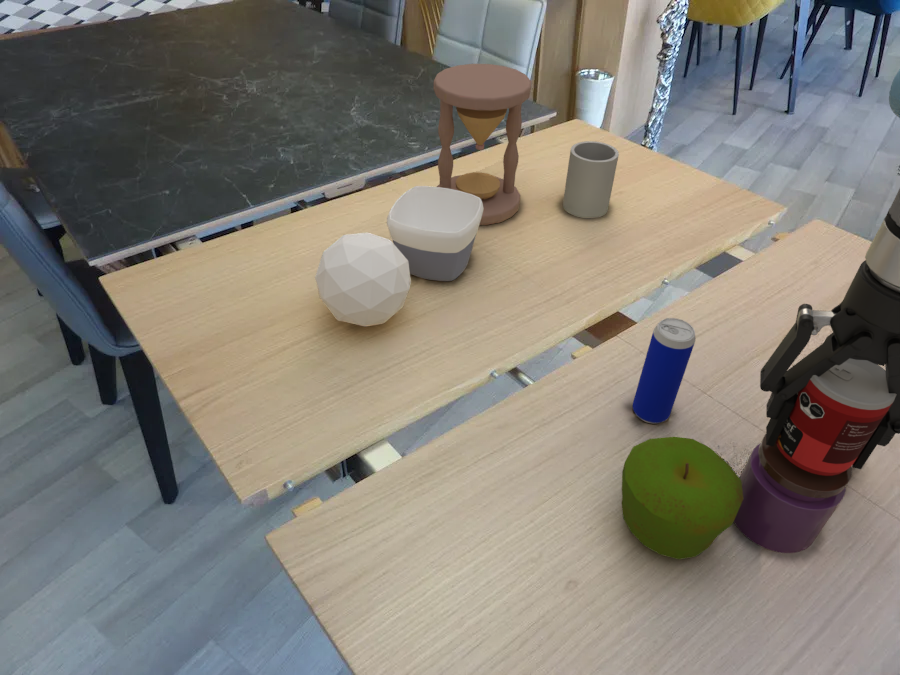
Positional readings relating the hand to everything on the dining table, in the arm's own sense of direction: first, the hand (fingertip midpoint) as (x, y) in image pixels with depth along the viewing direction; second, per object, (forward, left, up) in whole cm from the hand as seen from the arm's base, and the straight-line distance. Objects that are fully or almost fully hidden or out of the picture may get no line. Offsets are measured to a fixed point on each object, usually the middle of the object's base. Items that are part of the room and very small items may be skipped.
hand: (812, 447), depth 72 cm
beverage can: (+16, -12, -13) cm, 24 cm away
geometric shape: (+62, -17, -13) cm, 66 cm away
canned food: (0, 0, 0) cm, 0 cm away
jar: (0, 0, -13) cm, 13 cm away
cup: (+36, -65, -13) cm, 75 cm away
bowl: (+57, -35, -13) cm, 68 cm away
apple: (+12, +6, -13) cm, 19 cm away
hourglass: (+57, -58, -13) cm, 82 cm away
